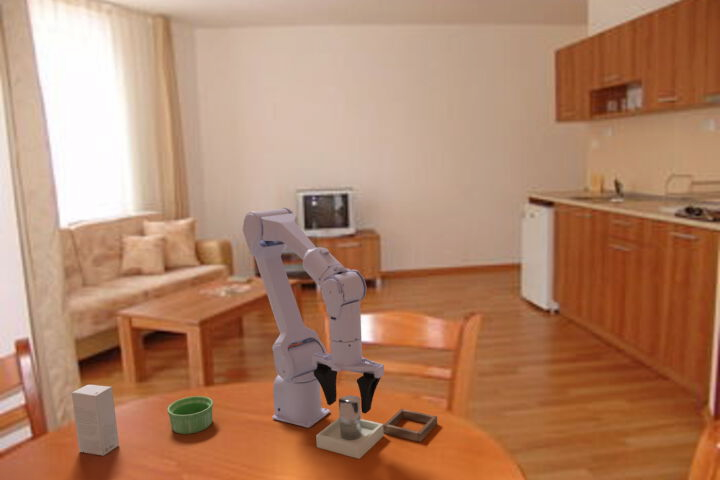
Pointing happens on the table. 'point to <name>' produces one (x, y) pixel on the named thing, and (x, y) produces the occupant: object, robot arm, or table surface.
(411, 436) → the walnut collar
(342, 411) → the dowel pin
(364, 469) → the table surface
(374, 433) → the beige shallow square tray
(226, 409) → the table surface
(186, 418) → the ramekin
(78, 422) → the skincare box
